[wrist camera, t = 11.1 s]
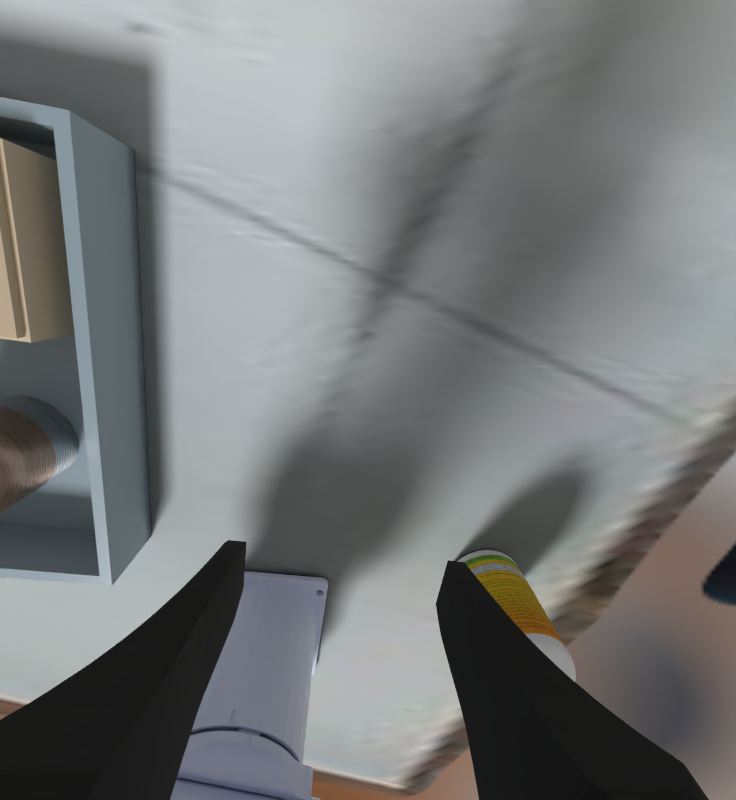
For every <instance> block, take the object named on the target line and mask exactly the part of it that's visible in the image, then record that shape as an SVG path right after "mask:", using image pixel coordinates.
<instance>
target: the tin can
mask: <svg viewBox="0 0 736 800" xmlns="http://www.w3.org/2000/svg"><path fill="white" fill-rule="evenodd" d="M77 453H78V438H77V435H76V432H75V430H74V428H73V426H72V424H71V423H70V422H69V420H68V419H67V418H66V417H65V416H64V415H63V414H62V413H61V412H60V411H59V410H58V409H56V408H55V407H53V406H52V405H50V404H48V403H47V402H44V401H42V400H40V399H37V398H33V397H28V396H9V397H5V398H2V399H0V514H1V513H3V512H4V511H6V510H7V509H9V508H10V507H12V506H13V505H15V504H16V503H18V502H19V501H21V500H22V499H24V498H25V497H27V496H28V495H30V494H31V493H33V492H34V491H36V490H38V489H39V488H41V487H42V486H44V485H45V484H46V483H47V482H48V481H49V480H51V479H53V478H54V477H56V476H57V475H59V474H60V473H62V472H63V471H65V470H66V469H67V468H69V467H70V466H71V465H72V464H73V462H74V461H75V459H76V456H77Z"/></svg>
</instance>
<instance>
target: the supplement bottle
mask: <svg viewBox="0 0 736 800" xmlns="http://www.w3.org/2000/svg"><path fill="white" fill-rule="evenodd" d="M457 562H464V563H465V564H466V565H467V566H468V567H469V569H470V570H471V571H472V572H473V574H474V575H475V576H476V577H477V579H478V580H479V581H480V582H481V584H482V585H483V586H484V587H485V588H486V590H487V591H488V592H489V593H490V595H491V596H492V597H493V598H494V599H495V601H496V602H497V603H498V604H499V605H500V607H501V608H502V609H503V610H504V611H505V612H506V614H507V615H508V616H509V617H510V618H511V619H512V620H513V622H514V623H515V624H516V625H517V626H518V627H519V628H520V629H521V630H522V631H523V632H524V634H525V635H526V636H527V637H528V638H529V639H530V640H531V641H532V642H533V643H534V644H535V645H536V646H537V647H538V648H539V649H540V650H541V651H542V652H543V653H544V654H545V655H546V656H547V657H548V658H549V659H550V660H551V661H552V662H553V663H554V664H555V665H557V666H558V667H559V668H560V669H561V670H562V671H563V672H564V673H565V674H566V675H567V676H569V677H570V678H571V679H572V680H573V681H574V682H575V679H576V673H575V667H574V663H573V661H572V658H571V656H570V654H569V653H568V651H567V649H566V647H565V645H564V644H563V642H562V640H561V638H560V637H559V635H558V633H557V632H556V630H555V628H554V627H553V625H552V623H551V622H550V620H549V618H548V616H547V615H546V613H545V611H544V610H543V608H542V606H541V604H540V603H539V601H538V599H537V598H536V596H535V594H534V592H533V591H532V589H531V587H530V586H529V584H528V582H527V581H526V579H525V577H524V575H523V574H522V572H521V570H520V569H519V567H518V566H517V564H516V563H515V562H514V560H512V559H511V558H510V557H509V556H507V555H506V554H504V553H501V552H499V551H494V550H481V551H476V552H473V553H470V554H468V555H466V556H464V557H462V558H461V559H459V560H458V561H457Z"/></svg>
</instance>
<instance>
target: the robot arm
mask: <svg viewBox="0 0 736 800" xmlns="http://www.w3.org/2000/svg"><path fill="white" fill-rule="evenodd" d="M245 554H246V542H241V541H230V540H228V541H227V542H225V543H224V544H223V545H222V547H221V548H220V549H219V550H218V551H217V552H216V553H215V555H214V556H213V557H212V558H211V559H210V560H209V561H208V562H207V563H206V564H205V565H204V567H203V568H202V569H201V570H200V571H199V572H198V573H197V574H196V575H195V576H194V577H193V578H192V579H191V580H190V581H189V582H188V583H187V584H186V585H185V586H184V587H183V588H182V589H181V590H180V591H179V592H178V593H177V594H176V595H174V596H173V597H172V598H171V599H170V600H169V601H168V602H167V603H166V604H165V605H164V606H162V607H161V608H160V609H159V610H158V611H157V612H156V613H155V614H154V615H152V616H151V617H150V618H149V619H148V620H147V621H145V622H144V623H143V624H142V625H141V626H139V627H138V628H137V629H136V630H134V631H133V632H132V633H131V634H129V635H128V636H127V637H126V638H124V639H123V640H122V641H120V642H119V643H118V644H116V645H115V646H114V647H112V648H111V649H110V650H108V651H107V652H106V653H104V654H103V655H102V656H100V657H99V658H97V659H96V660H95V661H93V662H92V663H90V664H89V665H87V666H86V667H85V668H83V669H82V670H80V671H79V672H77V673H76V674H74V675H73V676H71V677H69V678H68V679H66V680H65V681H63V682H62V683H60V684H59V685H57V686H56V687H54V688H53V689H51V690H50V691H48V692H47V693H45V694H43V695H42V696H40V697H39V698H37V699H35V700H34V701H32V702H31V703H29V704H27V705H25V706H24V707H22V708H20V709H18V710H17V711H15V712H13V713H11V714H10V715H8V716H6V717H5V718H3V719H1V720H0V800H320V799H318V798H315V797H311V789H312V777H313V768H312V767H310V766H306V765H304V764H303V754H304V745H305V735H306V725H307V715H308V705H309V695H310V685H311V677H312V676H313V675H314V674H315V669H316V662H317V655H318V649H319V642H320V636H321V629H322V622H323V616H324V609H325V603H326V596H327V589H328V581H327V580H326V579H324V578H318V577H306V576H294V575H283V574H271V573H259V572H247V571H245ZM318 590H322V591H318ZM436 607H437V614H438V620H439V626H440V632H441V637H442V641H443V644H444V648H445V652H446V655H447V659H448V663H449V666H450V670H451V673H452V677H453V680H454V684H455V688H456V691H457V695H458V698H459V702H460V706H461V709H462V713H463V717H464V722H465V726H466V731H467V736H468V741H469V746H470V751H471V756H472V761H473V767H474V773H475V778H476V784H477V790H478V795H479V800H709V799H708V798H707V796H706V795H705V794H704V792H703V791H702V789H701V788H700V786H699V785H698V783H697V782H696V781H695V779H694V778H693V776H692V775H691V773H690V772H689V771H688V769H687V768H686V766H685V765H684V764H683V763H682V762H680V761H679V760H677V759H676V758H674V757H673V756H672V755H670V754H669V753H667V752H666V751H664V750H663V749H661V748H660V747H659V746H657V745H656V744H654V743H653V742H651V741H650V740H648V739H647V738H646V737H644V736H642V735H641V734H640V733H638V732H637V731H636V730H634V729H633V728H632V727H630V726H629V725H628V724H626V723H625V722H624V721H622V720H621V719H620V718H618V717H617V716H616V715H614V714H613V713H612V712H610V711H609V710H608V709H606V708H605V707H604V706H603V705H602V704H600V703H599V702H598V701H597V700H595V699H594V698H593V697H592V696H591V695H589V694H588V693H587V692H586V691H585V690H584V689H582V688H581V687H580V686H579V685H578V684H576V683H575V682H574V681H573V680H572V679H571V678H570V677H569V676H567V675H566V674H565V673H564V672H563V671H562V670H561V669H560V668H559V667H558V666H557V665H555V664H554V663H553V662H552V661H551V660H550V659H549V658H548V657H547V656H546V655H545V654H544V653H543V652H542V651H541V650H540V649H539V648H538V647H537V646H536V645H535V644H534V643H533V642H532V641H531V640H530V639H529V638H528V637H527V636H526V635H525V634H524V632H523V631H522V630H521V629H520V628H519V627H518V626H517V625H516V624H515V623H514V622H513V620H512V619H511V618H510V617H509V616H508V615H507V614H506V612H505V611H504V610H503V609H502V608H501V607H500V605H499V604H498V603H497V602H496V601H495V599H494V598H493V597H492V596H491V595H490V593H489V592H488V591H487V590H486V588H485V587H484V586H483V585H482V584H481V582H480V581H479V580H478V579H477V577H476V576H475V575H474V574H473V572H472V571H471V570H470V569H469V567H468V566H467V565H466V564H465V563H464V562H457V561H448V562H447V566H446V570H445V573H444V577H443V580H442V584H441V588H440V591H439V595H438V598H437V602H436Z"/></svg>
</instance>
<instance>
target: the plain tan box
mask: <svg viewBox="0 0 736 800" xmlns="http://www.w3.org/2000/svg"><path fill="white" fill-rule="evenodd" d="M70 335H75V332H74V322H73V313H72V303H71V293H70V284H69V274H68V264H67V254H66V245H65V235H64V225H63V216H62V206H61V196H60V186H59V177H58V167H57V161H55V160H53V159H50V158H48V157H46V156H43V155H41V154H38V153H36V152H33V151H31V150H29V149H26V148H24V147H21V146H19V145H17V144H14V143H12V142H9V141H7V140H4V139H2V138H0V339H8V340H15V341H23V342H30V343H32V342H37V341H43V340H48V339H53V338H59V337H64V336H70Z"/></svg>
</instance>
